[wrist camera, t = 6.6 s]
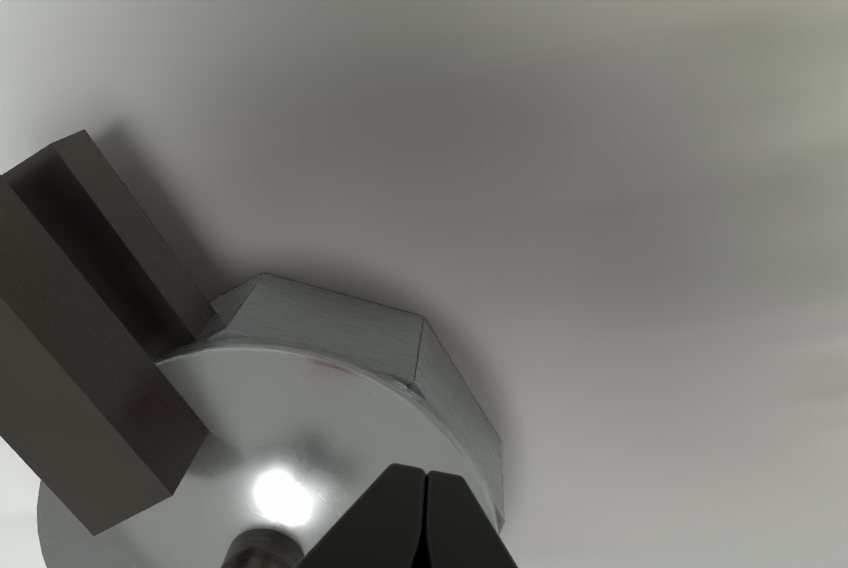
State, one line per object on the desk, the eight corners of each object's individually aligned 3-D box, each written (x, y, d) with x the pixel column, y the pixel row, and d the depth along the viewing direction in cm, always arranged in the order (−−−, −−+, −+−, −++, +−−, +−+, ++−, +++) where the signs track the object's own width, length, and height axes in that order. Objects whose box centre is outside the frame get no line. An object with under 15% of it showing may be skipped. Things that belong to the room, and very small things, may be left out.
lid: (580, 609, 21) (597, 717, 18) (232, 747, 24) (196, 860, 21) (191, 45, 16) (125, 64, 13) (-190, 311, 19) (-315, 377, 16)
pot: (581, 571, 25) (597, 665, 22) (293, 680, 28) (268, 778, 24) (247, 31, 19) (199, 46, 16) (-76, 237, 22) (-175, 286, 18)
